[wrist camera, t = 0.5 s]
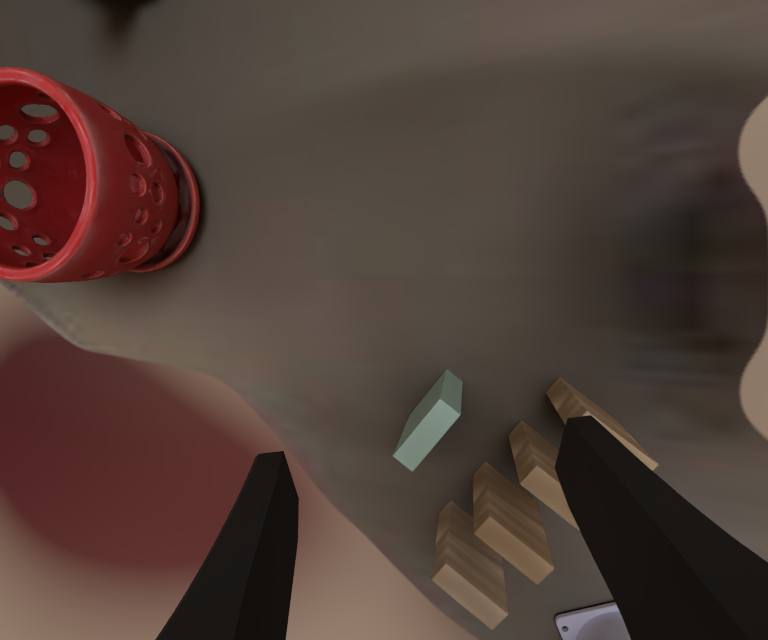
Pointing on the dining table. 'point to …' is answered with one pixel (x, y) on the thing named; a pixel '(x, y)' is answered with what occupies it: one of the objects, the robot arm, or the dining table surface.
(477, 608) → the domino
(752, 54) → the dining table surface
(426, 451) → the teal domino
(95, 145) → the plant pot
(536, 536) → the domino
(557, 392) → the domino
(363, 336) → the dining table surface
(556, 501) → the domino
